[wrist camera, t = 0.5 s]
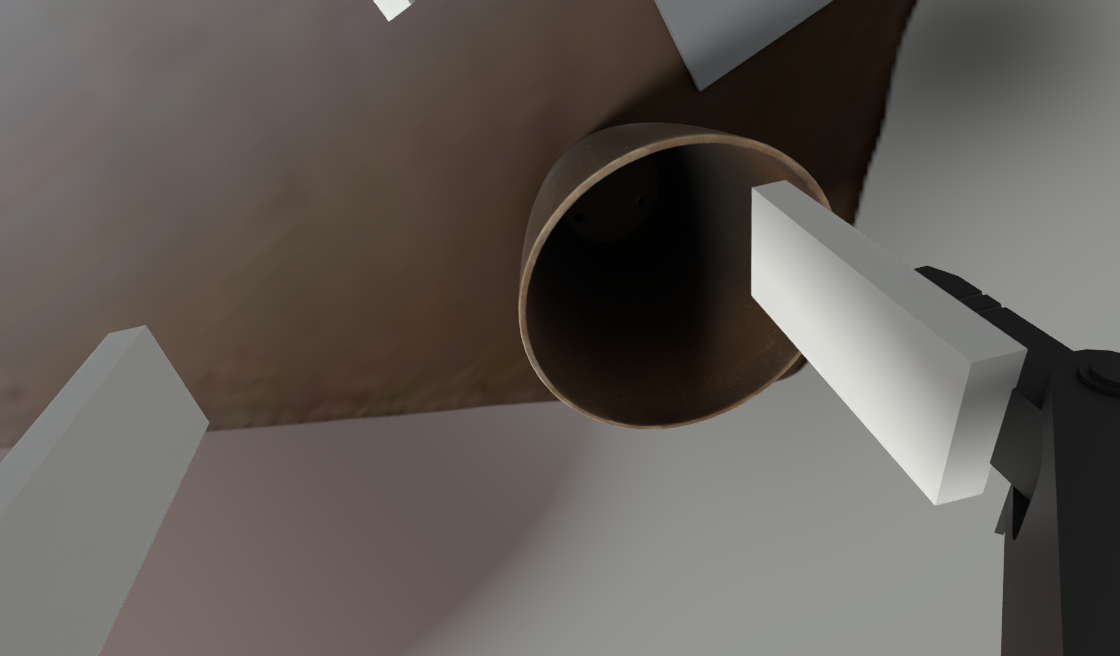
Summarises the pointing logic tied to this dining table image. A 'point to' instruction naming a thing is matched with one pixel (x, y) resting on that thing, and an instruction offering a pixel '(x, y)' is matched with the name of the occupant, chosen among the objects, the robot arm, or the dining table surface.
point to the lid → (392, 7)
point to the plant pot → (652, 275)
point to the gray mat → (728, 30)
